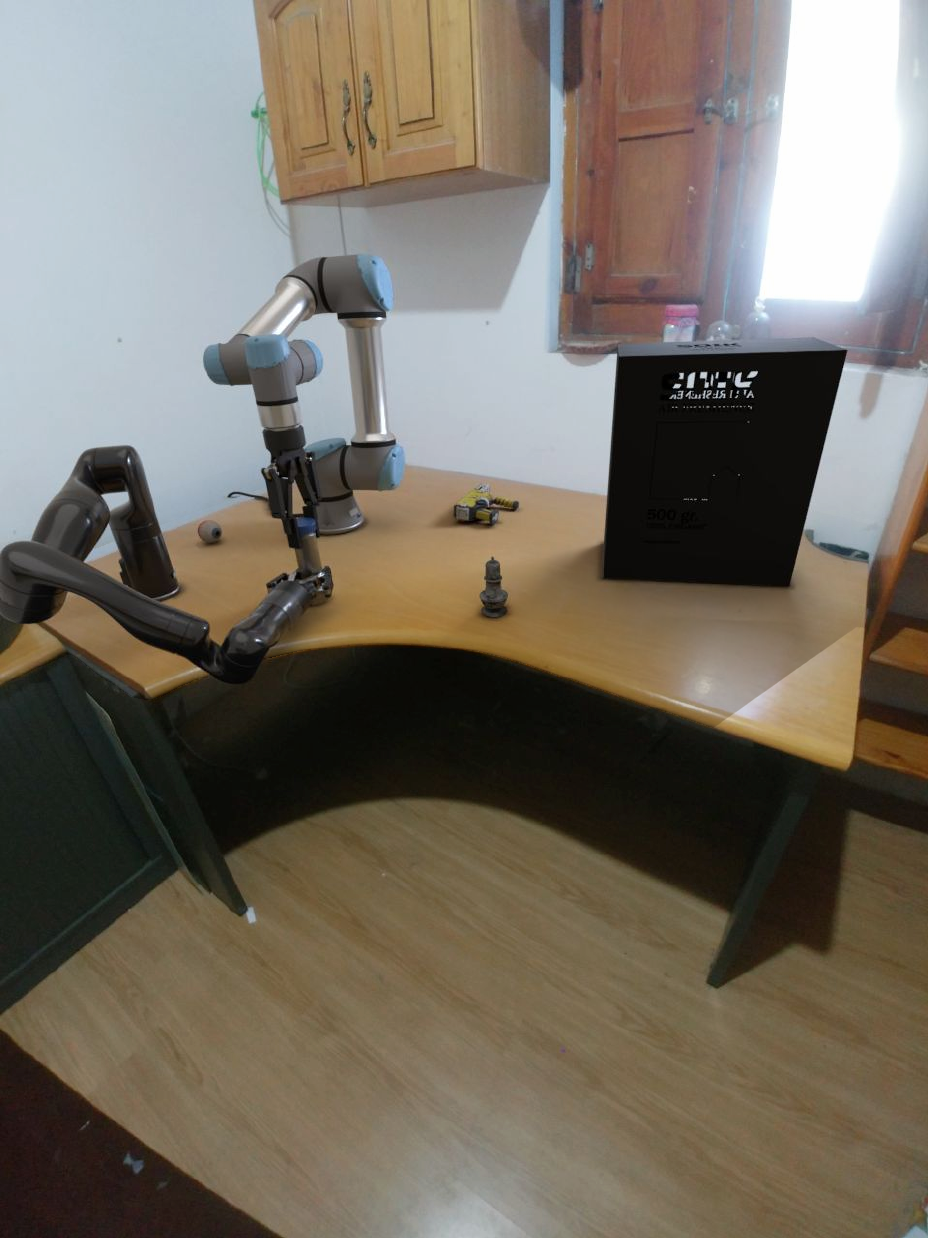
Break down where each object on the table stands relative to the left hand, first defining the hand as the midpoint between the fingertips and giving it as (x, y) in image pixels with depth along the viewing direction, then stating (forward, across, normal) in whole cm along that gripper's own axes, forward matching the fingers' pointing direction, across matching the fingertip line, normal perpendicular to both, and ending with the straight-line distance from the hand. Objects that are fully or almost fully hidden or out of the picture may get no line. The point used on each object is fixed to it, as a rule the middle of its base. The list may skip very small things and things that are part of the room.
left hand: (316, 569), depth 130 cm
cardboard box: (+22, +80, -6) cm, 83 cm away
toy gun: (+54, +30, -6) cm, 62 cm away
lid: (-3, 0, +12) cm, 12 cm away
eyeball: (+27, -42, -6) cm, 50 cm away
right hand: (-3, 0, +8) cm, 8 cm away
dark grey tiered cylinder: (-4, +39, -6) cm, 40 cm away
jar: (-3, 0, -6) cm, 7 cm away
